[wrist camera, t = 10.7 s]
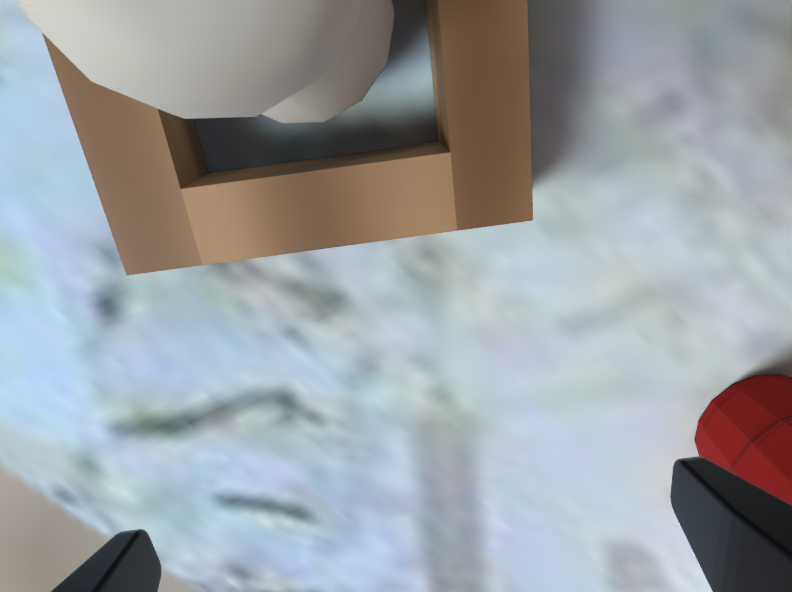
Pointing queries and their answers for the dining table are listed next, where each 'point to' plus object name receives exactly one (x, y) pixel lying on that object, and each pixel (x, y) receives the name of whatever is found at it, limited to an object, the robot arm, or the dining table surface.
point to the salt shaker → (225, 52)
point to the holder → (321, 161)
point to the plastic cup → (752, 433)
